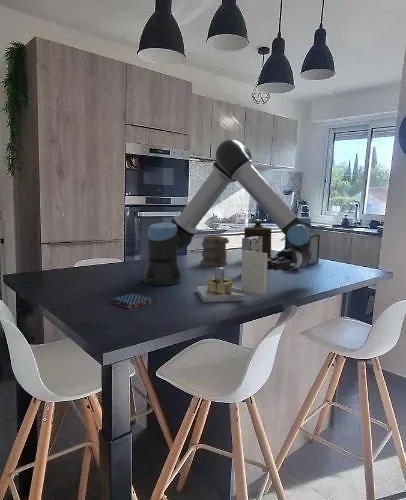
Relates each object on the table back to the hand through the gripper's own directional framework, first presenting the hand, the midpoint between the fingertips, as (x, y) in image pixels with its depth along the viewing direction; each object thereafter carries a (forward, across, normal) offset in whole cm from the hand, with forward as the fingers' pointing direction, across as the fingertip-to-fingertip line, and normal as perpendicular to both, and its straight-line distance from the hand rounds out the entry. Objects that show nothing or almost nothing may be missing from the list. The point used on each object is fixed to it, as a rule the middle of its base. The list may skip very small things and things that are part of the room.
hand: (255, 268), depth 121 cm
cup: (-62, +16, -12) cm, 65 cm away
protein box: (-85, +22, -12) cm, 89 cm away
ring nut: (+1, +7, -9) cm, 11 cm away
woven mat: (+27, +30, -12) cm, 42 cm away
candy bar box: (-42, +27, -12) cm, 51 cm away
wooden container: (-72, +42, -12) cm, 84 cm away
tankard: (-45, +50, -12) cm, 68 cm away
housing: (+1, +13, -11) cm, 18 cm away
